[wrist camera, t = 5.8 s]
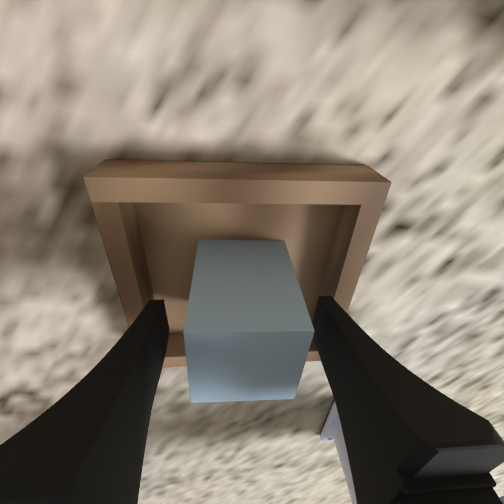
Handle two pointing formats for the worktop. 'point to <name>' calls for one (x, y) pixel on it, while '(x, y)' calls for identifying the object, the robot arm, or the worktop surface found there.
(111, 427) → the robot arm
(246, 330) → the block
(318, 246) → the tray
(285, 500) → the worktop surface
